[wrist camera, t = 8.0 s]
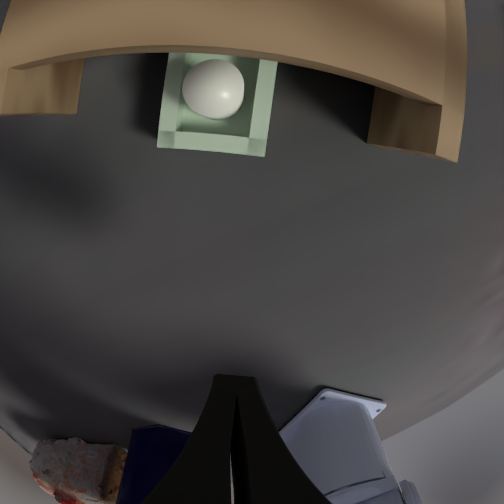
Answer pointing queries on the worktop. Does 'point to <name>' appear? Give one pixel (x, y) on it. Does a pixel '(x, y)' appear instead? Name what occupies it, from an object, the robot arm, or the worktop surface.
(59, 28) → the wooden arch bridge
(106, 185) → the worktop surface
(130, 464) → the bottle
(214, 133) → the tray
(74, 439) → the food item
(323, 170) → the worktop surface
